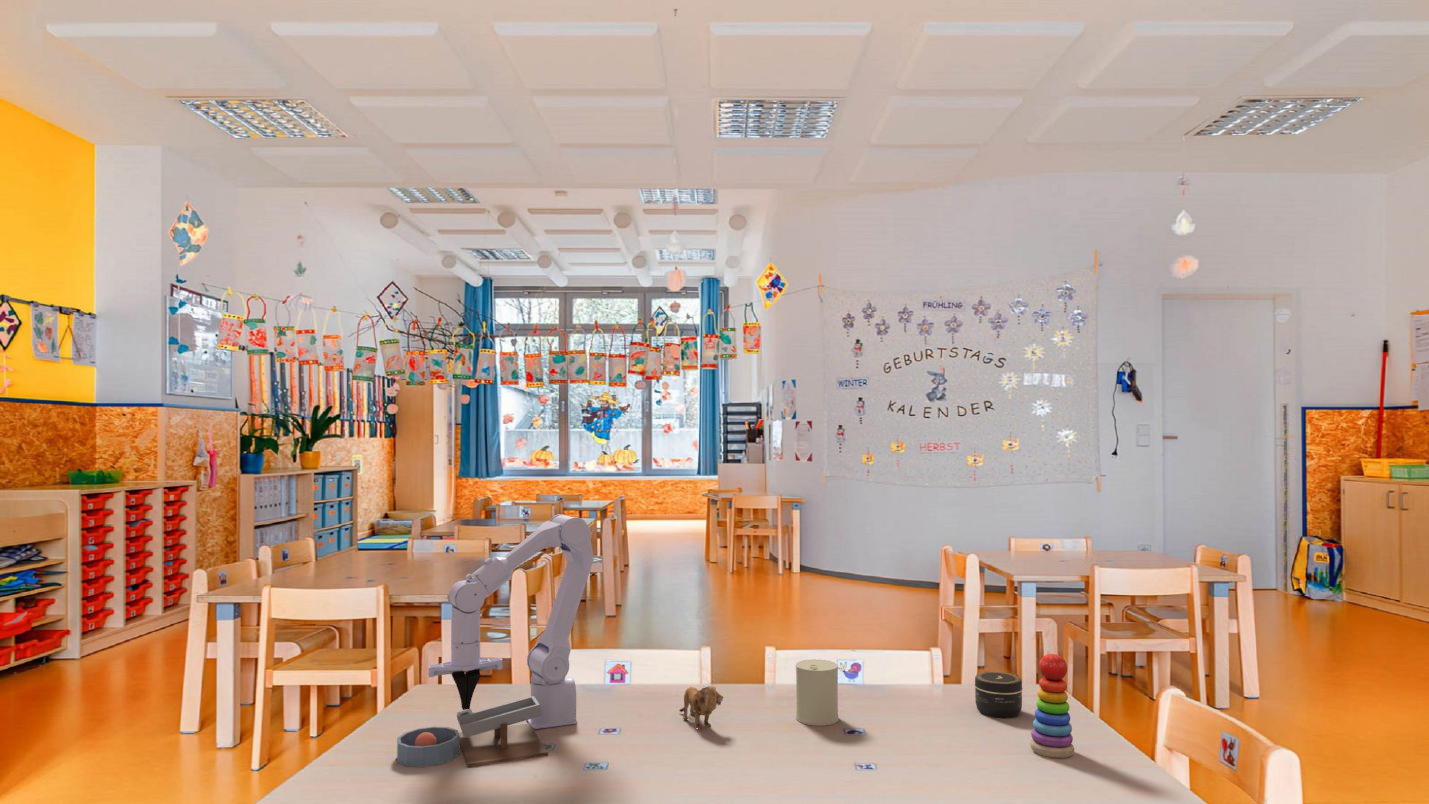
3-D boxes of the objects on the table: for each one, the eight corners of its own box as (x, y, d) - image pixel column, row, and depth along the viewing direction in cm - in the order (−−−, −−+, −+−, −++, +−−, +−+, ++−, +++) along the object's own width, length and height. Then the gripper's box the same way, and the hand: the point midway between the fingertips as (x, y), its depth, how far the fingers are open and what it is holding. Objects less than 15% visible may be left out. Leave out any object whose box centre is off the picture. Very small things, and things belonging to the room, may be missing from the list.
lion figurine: (726, 730, 181) (726, 686, 181) (705, 735, 178) (704, 690, 178) (689, 711, 193) (689, 670, 193) (668, 715, 190) (668, 674, 190)
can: (790, 722, 185) (790, 665, 185) (802, 709, 194) (802, 655, 194) (832, 728, 182) (832, 670, 182) (843, 714, 190) (842, 659, 191)
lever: (529, 698, 184) (528, 687, 184) (541, 715, 173) (539, 704, 172) (457, 718, 178) (455, 707, 178) (464, 737, 167) (462, 726, 167)
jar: (1018, 706, 196) (1018, 671, 196) (1026, 720, 186) (1026, 684, 186) (972, 703, 197) (972, 669, 198) (978, 718, 188) (977, 682, 188)
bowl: (455, 741, 174) (455, 723, 174) (461, 761, 164) (461, 742, 164) (395, 749, 170) (395, 731, 170) (398, 770, 160) (399, 750, 160)
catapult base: (529, 725, 183) (530, 700, 184) (547, 755, 167) (548, 727, 167) (456, 735, 178) (456, 709, 178) (467, 767, 161) (467, 738, 161)
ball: (410, 747, 168) (430, 752, 169) (411, 754, 164) (432, 759, 165) (419, 726, 168) (438, 732, 170) (420, 733, 165) (440, 739, 166)
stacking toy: (1054, 762, 162) (1052, 661, 163) (1021, 748, 170) (1019, 651, 170) (1083, 755, 166) (1081, 656, 167) (1050, 741, 173) (1048, 647, 174)
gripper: (430, 649, 171) (430, 718, 170) (505, 641, 176) (505, 709, 176) (427, 641, 177) (427, 708, 177) (499, 634, 183) (499, 699, 182)
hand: (465, 708), depth 177 cm, fingers closed
